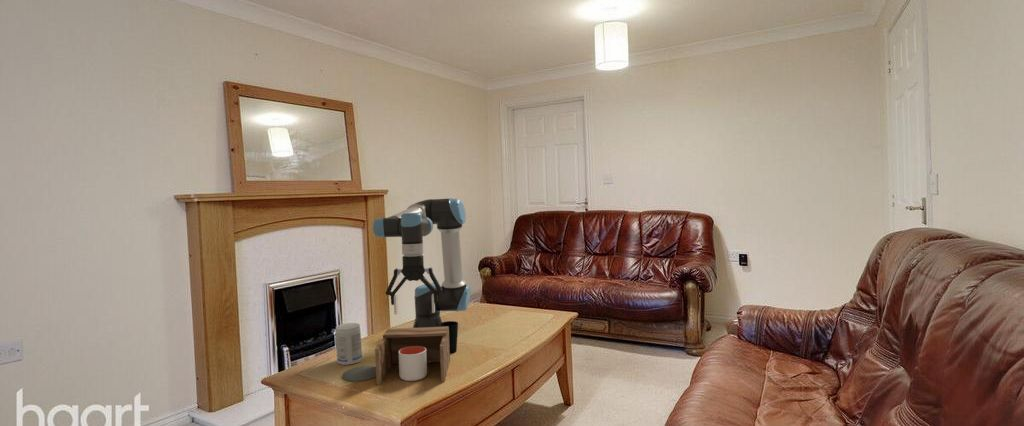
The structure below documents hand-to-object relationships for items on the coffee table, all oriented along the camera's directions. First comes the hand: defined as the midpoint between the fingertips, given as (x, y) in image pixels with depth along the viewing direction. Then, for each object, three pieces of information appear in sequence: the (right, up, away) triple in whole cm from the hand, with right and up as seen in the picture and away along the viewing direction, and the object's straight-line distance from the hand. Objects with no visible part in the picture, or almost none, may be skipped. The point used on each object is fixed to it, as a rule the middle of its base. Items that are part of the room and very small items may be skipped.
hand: (414, 312), depth 179 cm
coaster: (-21, -24, +5) cm, 32 cm away
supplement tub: (-30, -24, +19) cm, 43 cm away
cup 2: (+9, -22, +28) cm, 37 cm away
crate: (-1, -23, +5) cm, 24 cm away
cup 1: (-1, -24, +1) cm, 24 cm away
